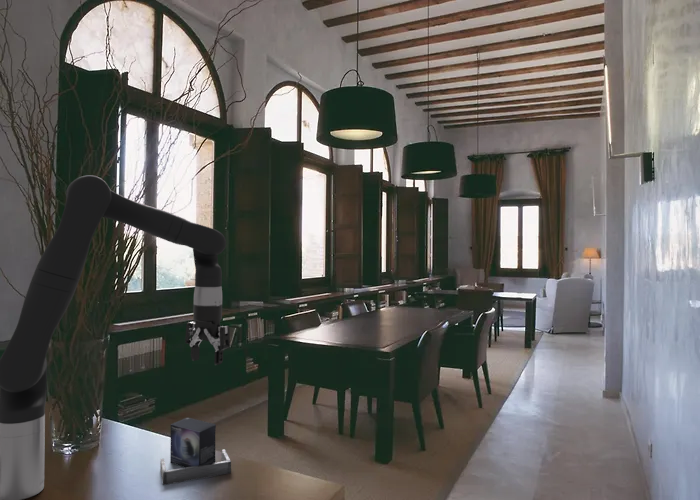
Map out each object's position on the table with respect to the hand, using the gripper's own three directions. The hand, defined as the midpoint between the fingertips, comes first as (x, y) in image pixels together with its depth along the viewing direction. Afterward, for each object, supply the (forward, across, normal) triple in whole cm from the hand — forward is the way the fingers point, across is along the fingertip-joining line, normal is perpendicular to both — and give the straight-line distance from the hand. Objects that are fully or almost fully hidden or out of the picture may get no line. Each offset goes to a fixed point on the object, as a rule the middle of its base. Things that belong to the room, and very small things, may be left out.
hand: (206, 362), depth 137 cm
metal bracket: (+25, +6, -9) cm, 27 cm away
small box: (+26, +1, -6) cm, 26 cm away
